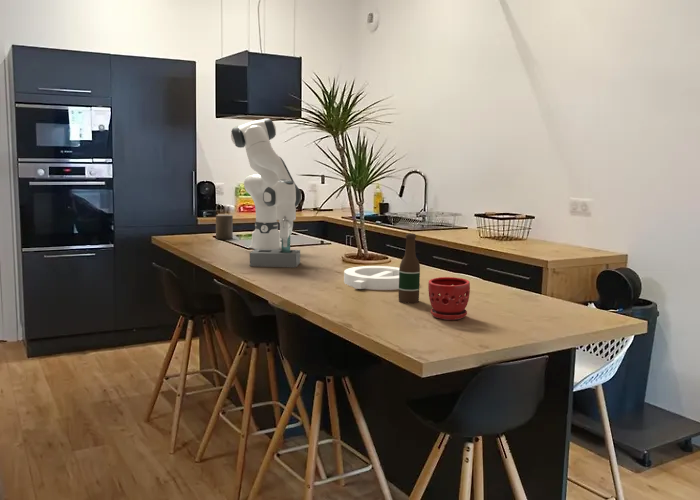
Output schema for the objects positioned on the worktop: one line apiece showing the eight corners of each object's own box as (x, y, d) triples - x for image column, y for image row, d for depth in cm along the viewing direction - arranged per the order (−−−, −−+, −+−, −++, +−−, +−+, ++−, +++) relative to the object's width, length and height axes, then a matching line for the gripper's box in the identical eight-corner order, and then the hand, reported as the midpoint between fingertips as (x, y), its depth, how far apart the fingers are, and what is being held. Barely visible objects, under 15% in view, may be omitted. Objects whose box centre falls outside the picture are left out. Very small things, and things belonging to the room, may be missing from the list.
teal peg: (280, 259, 307) (280, 229, 305) (288, 259, 308) (288, 229, 306) (283, 261, 303) (283, 230, 301) (291, 260, 305) (291, 230, 303)
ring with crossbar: (354, 292, 252) (355, 279, 251) (336, 278, 279) (336, 266, 278) (424, 289, 260) (424, 277, 259) (399, 276, 286) (400, 265, 286)
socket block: (255, 261, 313) (255, 248, 312) (300, 262, 312) (300, 249, 311) (249, 266, 300) (249, 252, 300) (296, 267, 299) (296, 254, 298)
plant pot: (431, 310, 224) (432, 275, 222) (470, 314, 220) (472, 278, 218) (423, 320, 211) (425, 282, 209) (465, 323, 207) (467, 285, 206)
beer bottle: (423, 303, 234) (425, 235, 231) (402, 304, 232) (404, 235, 229) (414, 298, 242) (417, 232, 238) (394, 299, 239) (396, 232, 236)
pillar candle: (224, 240, 383) (224, 213, 381) (212, 238, 388) (212, 212, 386) (236, 238, 391) (236, 212, 389) (223, 237, 396) (224, 211, 394)
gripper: (290, 218, 292) (290, 249, 295) (295, 213, 313) (294, 243, 315) (276, 218, 292) (276, 249, 295) (281, 213, 313) (281, 242, 315)
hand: (285, 246), depth 305 cm, fingers closed on teal peg, 4 cm apart
